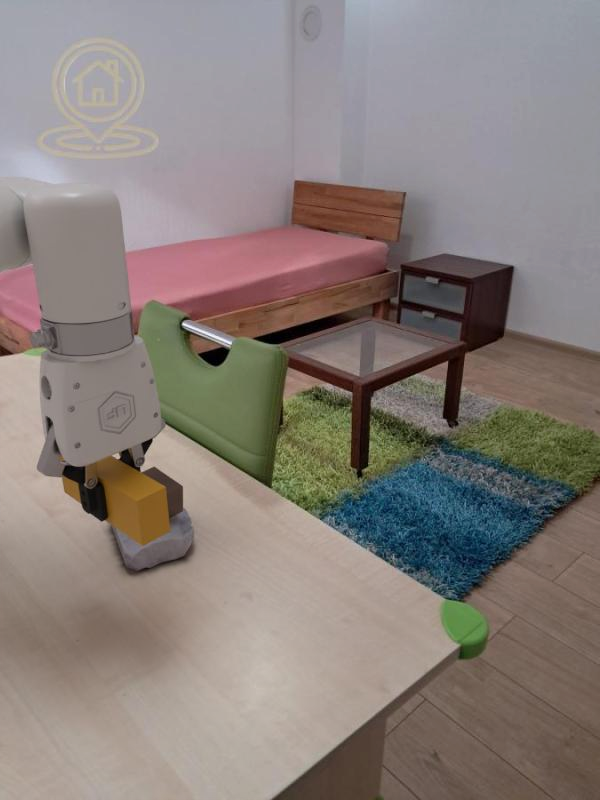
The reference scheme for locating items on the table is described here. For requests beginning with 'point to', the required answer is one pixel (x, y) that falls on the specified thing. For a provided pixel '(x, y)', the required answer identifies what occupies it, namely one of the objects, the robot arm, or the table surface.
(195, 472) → the table surface
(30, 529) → the table surface
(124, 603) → the table surface
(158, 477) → the walnut block
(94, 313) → the robot arm
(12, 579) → the table surface
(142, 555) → the stone block
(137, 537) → the bar
